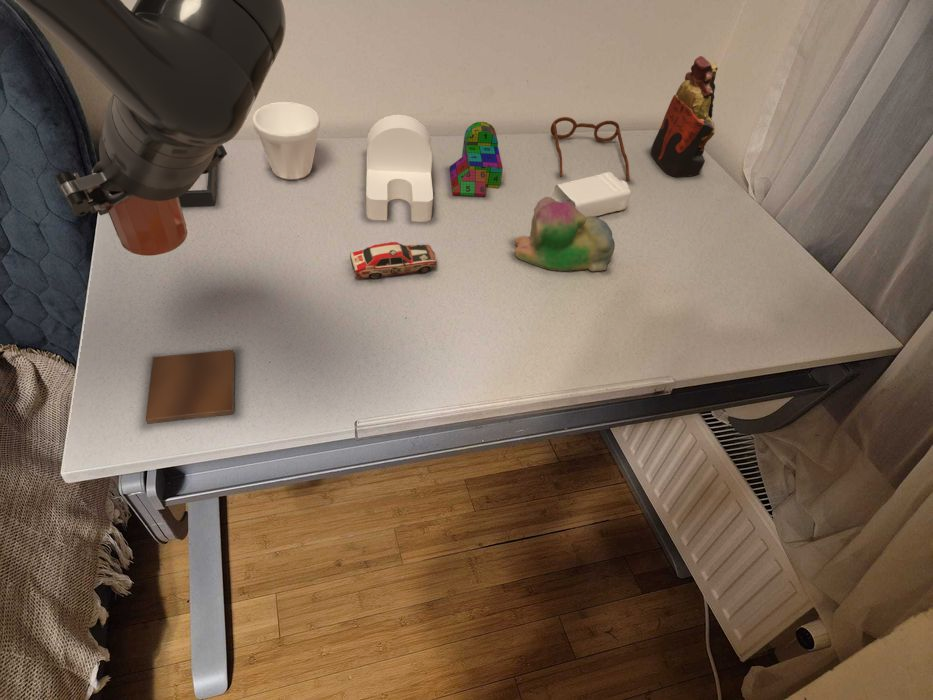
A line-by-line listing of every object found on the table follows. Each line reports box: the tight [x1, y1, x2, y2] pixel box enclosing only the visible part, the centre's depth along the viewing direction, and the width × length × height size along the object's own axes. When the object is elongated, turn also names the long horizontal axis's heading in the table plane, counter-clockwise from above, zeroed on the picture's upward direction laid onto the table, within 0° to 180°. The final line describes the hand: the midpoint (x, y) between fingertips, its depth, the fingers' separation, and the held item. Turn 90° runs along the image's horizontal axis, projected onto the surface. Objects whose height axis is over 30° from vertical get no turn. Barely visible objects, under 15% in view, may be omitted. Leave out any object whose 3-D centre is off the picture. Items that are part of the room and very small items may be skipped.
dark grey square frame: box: [178, 164, 218, 208], centre depth 93 cm, size 12×12×2 cm
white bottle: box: [550, 171, 632, 217], centre depth 102 cm, size 6×13×4 cm, turn 118°
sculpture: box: [514, 196, 616, 272], centre depth 90 cm, size 15×8×10 cm, turn 104°
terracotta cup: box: [96, 161, 188, 257], centre depth 60 cm, size 6×6×8 cm
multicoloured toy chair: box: [449, 121, 504, 198], centre depth 103 cm, size 12×8×7 cm
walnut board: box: [144, 349, 235, 424], centre depth 71 cm, size 9×9×1 cm
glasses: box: [550, 116, 631, 182], centre depth 111 cm, size 13×13×5 cm
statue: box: [650, 55, 719, 178], centre depth 109 cm, size 12×8×20 cm, turn 12°
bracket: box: [365, 114, 434, 223], centre depth 97 cm, size 19×10×11 cm, turn 5°
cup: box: [251, 101, 321, 181], centre depth 97 cm, size 10×10×9 cm
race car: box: [349, 241, 437, 280], centre depth 87 cm, size 5×12×5 cm, turn 102°
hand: (134, 192), depth 61 cm, fingers closed on terracotta cup, 6 cm apart
